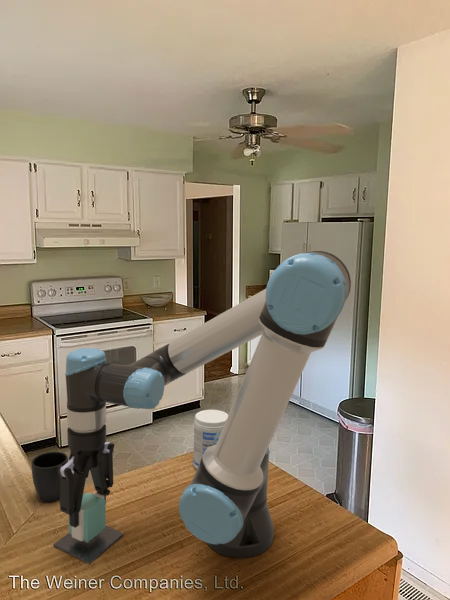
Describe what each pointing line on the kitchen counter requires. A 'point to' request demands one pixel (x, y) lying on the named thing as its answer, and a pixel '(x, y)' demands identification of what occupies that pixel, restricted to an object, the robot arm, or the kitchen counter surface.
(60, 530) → the kitchen counter surface
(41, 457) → the mug
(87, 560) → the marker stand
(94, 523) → the teal rectangular block
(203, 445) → the supplement tub
